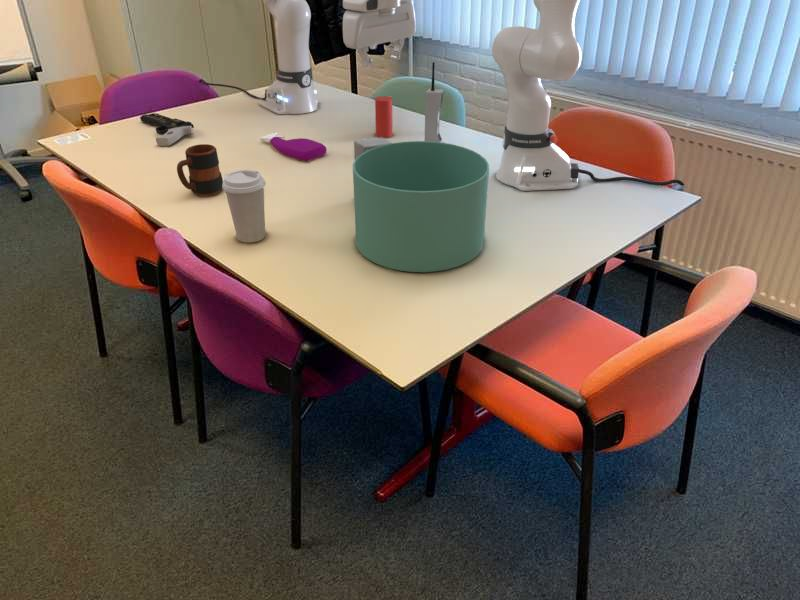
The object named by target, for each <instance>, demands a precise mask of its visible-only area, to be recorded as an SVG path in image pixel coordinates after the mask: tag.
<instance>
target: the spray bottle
mask: <svg viewBox="0 0 800 600" xmlns="http://www.w3.org/2000/svg"><path fill="white" fill-rule="evenodd" d="M285 138H286V136H282V135H279V132H272V133H269V134H266V135H263V136H261V137H260V138H259V140H260V142H261V143H263V142H264V143H269V144H270V145H271V147H273V149H274V150H276V151H277V152H278V153H280V154H282V155H284V156H286V157H289V158H292V159H294V160H297V161H301V162H309V161H312V160H315V159H318V158H321V157H324V156H325V155H326V153H327V147H326V145H324V144H323V143H321V142H319V141H315V140H312V139H309V138H302V137H301V138H299V137H298V138H291V139H285Z"/></svg>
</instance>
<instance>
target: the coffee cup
mask: <svg viewBox="0 0 800 600" xmlns="http://www.w3.org/2000/svg"><path fill="white" fill-rule="evenodd" d="M265 187H266V180H265V179H264V177H263V176H262V174H261V173H260V172H259V171H257V170H255V169H238V170H233V171H230V172H229V173H227V174H226V175H225V176H224V179H223V184H222V188H223V189H222V191H224V192H225V196H226V200H227V203H228V207H229V212H230V215H231V219H232V223H233V227H234V230H235V231H234V232H235V236H236V238H237V239H236V240H238V241H239V242H242V243H245V244H246V243H247V244H249V243H256V242H257V243H258V242H260V241H262V240H263V239H264V238H265V237H266V218H265V217H266V216H265Z"/></svg>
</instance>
